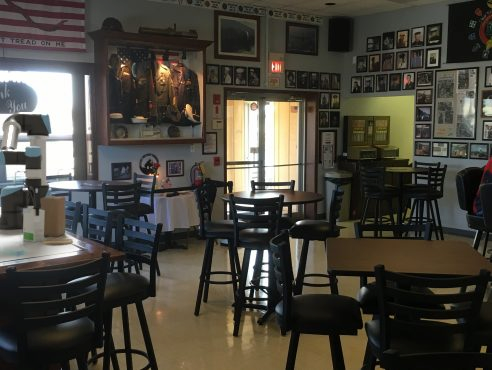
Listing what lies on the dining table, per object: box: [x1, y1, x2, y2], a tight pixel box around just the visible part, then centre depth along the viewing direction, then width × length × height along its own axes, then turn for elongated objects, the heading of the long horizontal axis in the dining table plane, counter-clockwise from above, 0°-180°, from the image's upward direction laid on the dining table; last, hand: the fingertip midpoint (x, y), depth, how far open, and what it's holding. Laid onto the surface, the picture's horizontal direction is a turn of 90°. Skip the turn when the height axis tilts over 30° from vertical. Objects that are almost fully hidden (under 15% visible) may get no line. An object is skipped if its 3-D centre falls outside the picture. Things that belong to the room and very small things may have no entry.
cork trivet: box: [42, 237, 74, 246], centre depth 275 cm, size 14×14×1 cm
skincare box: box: [22, 208, 45, 243], centre depth 277 cm, size 8×7×16 cm
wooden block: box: [40, 195, 66, 237], centre depth 293 cm, size 10×10×20 cm
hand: (33, 220), depth 277 cm, fingers open, 13 cm apart
